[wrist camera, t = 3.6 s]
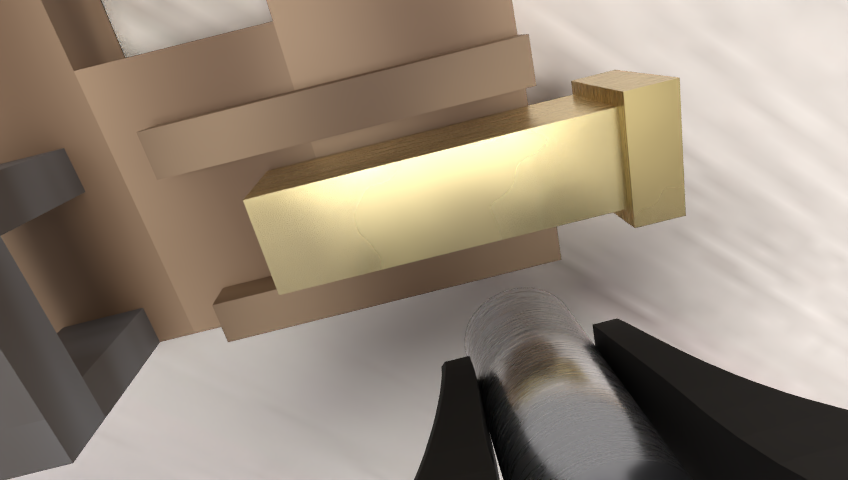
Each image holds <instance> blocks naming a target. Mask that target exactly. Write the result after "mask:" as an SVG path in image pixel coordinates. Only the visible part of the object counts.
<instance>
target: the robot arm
mask: <svg viewBox="0 0 848 480" xmlns="http://www.w3.org/2000/svg"><path fill="white" fill-rule="evenodd" d="M593 332H594V339H595V347H596V348H597V350H598V351H599V352H600V354H601V355H602V356H603V358H604V359H605V361H606V362H607V363H608V365H609V366H610V367H611V369H612V370H613V371H614V373H615V374H616V376H617V377H618V378H619V380H620V381H621V382H622V384H623V385H624V387H625V388H626V389H627V391H628V392H629V393H630V395H631V396H632V398H633V399H634V400H635V402H636V403H637V404H638V406H639V407H640V409H641V410H642V411H643V413H644V414H645V415H646V417H647V418H648V419H649V421H650V422H651V424H652V425H653V426H654V428H655V429H656V430H657V432H658V433H659V435H660V436H661V437H662V439H663V440H664V441H665V443H666V444H667V446H668V447H669V448H670V450H671V451H672V452H673V454H674V455H675V456H676V458H677V459H678V461H679V462H680V463H681V465H682V466H683V467H684V469H685V470H686V472H687V473H688V474H689V476H690V477H691V478H692V480H848V410H846V409H842V408H838V407H835V406H831V405H827V404H824V403H820V402H816V401H812V400H809V399H805V398H802V397H799V396H795V395H792V394H789V393H786V392H782V391H780V390H777V389H774V388H771V387H768V386H765V385H762V384H759V383H756V382H753V381H751V380H748V379H745V378H743V377H740V376H738V375H735V374H733V373H730V372H728V371H725V370H723V369H721V368H718V367H716V366H714V365H711V364H709V363H707V362H704V361H702V360H700V359H698V358H696V357H693V356H691V355H689V354H687V353H685V352H683V351H681V350H679V349H677V348H675V347H673V346H671V345H669V344H667V343H665V342H663V341H661V340H659V339H657V338H655V337H653V336H651V335H649V334H647V333H645V332H643V331H641V330H639V329H637V328H636V327H634V326H632V325H630V324H628V323H626V322H624V321H622V320H619V319H613V320H609V321H605V322H601V323H597V324H593ZM441 368H442V380H441V389H440V395H439V401H438V406H437V410H436V415H435V419H434V423H433V427H432V430H431V434H430V437H429V440H428V443H427V447H426V450H425V453H424V456H423V458H422V461H421V464H420V467H419V469H418V472H417V474H416V476H415V479H414V480H500V479H499V474H498V468H497V463H496V458H495V454H494V450H493V445H492V441H491V437H490V433H489V429H488V426H487V421H486V417H485V412H484V407H483V403H482V398H481V394H480V390H479V386H478V381H477V377H476V373H475V370H474V367H473V364H472V361H471V358H470V356H467V357H463V358H459V359H455V360H451V361H447V362H445V363H444V364H443V366H442V367H441Z"/></svg>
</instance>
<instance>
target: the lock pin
mask: <svg viewBox="0 0 848 480" xmlns="http://www.w3.org/2000/svg"><path fill="white" fill-rule="evenodd" d="M571 83H572V92H573V95H569V96H565V97H561V98H557V99H553V100H549V101H545V102H541V103H537V104H533V105H529V106H525V107H521V108H517V109H513V110H509V111H505V112H501V113H497V114H493V115H489V116H485V117H481V118H477V119H473V120H469V121H465V122H461V123H457V124H453V125H449V126H445V127H441V128H437V129H433V130H429V131H425V132H421V133H417V134H413V135H409V136H405V137H401V138H397V139H393V140H389V141H385V142H381V143H377V144H373V145H369V146H365V147H361V148H357V149H353V150H349V151H345V152H340V153H336V154H332V155H328V156H324V157H320V158H316V159H312V160H308V161H304V162H300V163H296V164H292V165H288V166H284V167H280V168H276V169H272V170H268V171H267V172H266V173H265V174H264V175H263V177H262V178H261V179H260V180H259V181H258V183H257V184H256V185H255V186H254V187H253V189H252V190H251V191H250V192H249V193H248V195H247V196H246V197H245V198H244V199H243V202H244V205H245V207H246V210H247V212H248V215H249V218H250V220H251V223H252V226H253V228H254V231H255V233H256V236H257V239H258V241H259V244H260V247H261V249H262V252H263V255H264V257H265V260H266V262H267V265H268V268H269V270H270V273H271V276H272V278H273V281H274V284H275V286H276V289H277V291H278V294H279V295H282V294H286V293H290V292H294V291H298V290H302V289H306V288H310V287H314V286H318V285H322V284H326V283H330V282H334V281H338V280H342V279H346V278H350V277H354V276H359V275H363V274H367V273H371V272H375V271H379V270H383V269H387V268H391V267H395V266H399V265H403V264H407V263H411V262H415V261H419V260H423V259H427V258H431V257H435V256H439V255H443V254H447V253H451V252H455V251H459V250H463V249H467V248H471V247H475V246H479V245H483V244H487V243H491V242H496V241H500V240H504V239H508V238H512V237H516V236H520V235H524V234H528V233H532V232H536V231H540V230H544V229H548V228H552V227H556V226H560V225H564V224H568V223H572V222H576V221H580V220H584V219H588V218H592V217H596V216H600V215H604V214H608V213H612V212H613V213H615V214H616V215H618V216H619V217H620V218H622V219H623V220H624V221H626V222H627V223H629V224H630V225H631V226H633V227H634V228H637V227H641V226H645V225H649V224H654V223H658V222H662V221H666V220H670V219H674V218H678V217H682V216H686V213H685V191H684V168H683V146H682V124H681V101H680V79H679V78H678V77H670V76H661V75H653V74H645V73H637V72H628V71H620V70H613V71H609V72H605V73H601V74H597V75H593V76H589V77H585V78H581V79H577V80H573V81H571Z"/></svg>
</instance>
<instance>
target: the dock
mask: <svg viewBox="0 0 848 480" xmlns="http://www.w3.org/2000/svg"><path fill="white" fill-rule="evenodd" d="M267 4H268V7H269V10H270V13H271V16H272V20H273V21H272V22H268V23H264V24H260V25H256V26H252V27H248V28H244V29H240V30H236V31H232V32H228V33H224V34H220V35H216V36H212V37H208V38H204V39H200V40H196V41H192V42H188V43H184V44H180V45H176V46H172V47H168V48H164V49H160V50H156V51H152V52H148V53H144V54H140V55H136V56H132V57H128V58H125V57H124V55H123V52H122V50H121V48H120V45H119V43H118V41H117V38H116V36H115V33H114V31H113V29H112V26H111V24H110V22H109V19H108V17H107V15H106V12H105V10H104V7H103V5H102V3H101V0H0V480H7V479H11V478H15V477H19V476H23V475H27V474H31V473H35V472H39V471H43V470H47V469H51V468H55V467H59V466H63V465H67V464H71V463H73V462H74V461H75V460H76V458H77V457H78V455H79V454H80V453H81V451H82V450H83V448H84V447H85V446H86V444H87V443H88V441H89V440H90V439H91V437H92V436H93V434H94V433H95V432H96V430H97V429H98V428H99V426H100V425H101V423H102V422H103V421H104V419H105V418H106V416H107V415H108V414H109V412H110V411H111V409H112V408H113V407H114V405H115V404H116V402H117V401H118V400H119V398H120V397H121V396H122V394H123V393H124V391H125V390H126V389H127V387H128V386H129V384H130V383H131V382H132V380H133V379H134V377H135V376H136V375H137V373H138V372H139V371H140V369H141V368H142V366H143V365H144V364H145V362H146V361H147V359H148V358H149V357H150V355H151V354H152V352H153V351H154V350H155V348H156V347H157V345H158V344H159V343H160V342H162V341H166V340H170V339H174V338H178V337H182V336H186V335H190V334H194V333H198V332H202V331H206V330H210V329H214V328H218V327H222V329H223V332H224V334H225V336H226V338H227V341H228V342H231V341H235V340H239V339H243V338H247V337H251V336H255V335H259V334H263V333H267V332H271V331H275V330H279V329H283V328H287V327H291V326H295V325H299V324H303V323H307V322H311V321H315V320H319V319H323V318H327V317H332V316H336V315H340V314H344V313H348V312H352V311H356V310H360V309H364V308H368V307H372V306H376V305H380V304H384V303H388V302H392V301H396V300H400V299H404V298H408V297H412V296H416V295H420V294H424V293H428V292H432V291H436V290H440V289H444V288H448V287H453V286H457V285H461V284H465V283H469V282H473V281H477V280H481V279H485V278H489V277H493V276H497V275H501V274H505V273H509V272H513V271H517V270H521V269H525V268H529V267H533V266H537V265H541V264H545V263H549V262H553V261H557V260H561V254H560V247H559V240H558V233H557V226H556V227H552V228H548V229H544V230H540V231H536V232H532V233H528V234H524V235H520V236H516V237H512V238H508V239H504V240H500V241H496V242H491V243H487V244H483V245H479V246H475V247H471V248H467V249H463V250H459V251H455V252H451V253H447V254H443V255H439V256H435V257H431V258H427V259H423V260H419V261H415V262H411V263H407V264H403V265H399V266H395V267H391V268H387V269H383V270H379V271H375V272H371V273H367V274H363V275H359V276H354V277H350V278H346V279H342V280H338V281H334V282H330V283H326V284H322V285H318V286H314V287H310V288H306V289H302V290H298V291H294V292H290V293H286V294H282V295H279V294H278V291H277V289H276V286H275V284H274V281H273V278H272V276H271V273H270V270H269V268H268V265H267V262H266V260H265V257H264V255H263V252H262V249H261V247H260V244H259V241H258V239H257V236H256V233H255V231H254V228H253V226H252V223H251V220H250V218H249V215H248V212H247V210H246V207H245V205H244V202H243V199H244V198H245V197H246V196H247V195H248V193H249V192H250V191H251V190H252V189H253V187H254V186H255V185H256V184H257V183H258V181H259V180H260V179H261V178H262V177H263V175H264V174H265V173H266V172H267V171H268V170H272V169H276V168H280V167H284V166H288V165H292V164H296V163H300V162H304V161H308V160H312V159H316V158H320V157H324V156H328V155H332V154H336V153H340V152H345V151H349V150H353V149H357V148H361V147H365V146H369V145H373V144H377V143H381V142H385V141H389V140H393V139H397V138H401V137H405V136H409V135H413V134H417V133H421V132H425V131H429V130H433V129H437V128H441V127H445V126H449V125H453V124H457V123H461V122H465V121H469V120H473V119H477V118H481V117H485V116H489V115H493V114H497V113H501V112H505V111H509V110H513V109H517V108H521V107H525V106H528V102H527V95H526V89H525V88H529V87H533V86H536V81H535V74H534V67H533V60H532V53H531V47H530V40H529V34H526V35H517V30H516V23H515V17H514V10H513V4H512V0H267Z"/></svg>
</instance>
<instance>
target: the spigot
mask: <svg viewBox="0 0 848 480" xmlns="http://www.w3.org/2000/svg"><path fill="white" fill-rule="evenodd" d="M465 351H466V354H467V356H470V358H471V361H472V364H473V367H474V370H475V373H476V377H477V381H478V386H479V390H480V394H481V398H482V403H483V407H484V412H485V417H486V421H487V426H488V429H489V432H490V436H491V439H492V442H493V446H494V449H495V453H496V456H497V459H498V463H499V466H500V470H501V473H502V476H503V480H692V478H691V477H690V476H689V474H688V473H687V472H686V470H685V469H684V467H683V466H682V465H681V463H680V462H679V461H678V459H677V458H676V456H675V455H674V454H673V452H672V451H671V450H670V448H669V447H668V446H667V444H666V443H665V441H664V440H663V439H662V437H661V436H660V435H659V433H658V432H657V430H656V429H655V428H654V426H653V425H652V424H651V422H650V421H649V419H648V418H647V417H646V415H645V414H644V413H643V411H642V410H641V409H640V407H639V406H638V404H637V403H636V402H635V400H634V399H633V398H632V396H631V395H630V393H629V392H628V391H627V389H626V388H625V387H624V385H623V384H622V382H621V381H620V380H619V378H618V377H617V376H616V374H615V373H614V371H613V370H612V369H611V367H610V366H609V365H608V363H607V362H606V361H605V359H604V358H603V356H602V355H601V354H600V352H599V351H598V350H597V348H596V347H595V345H594V344H593V343H592V341H591V340H590V339H589V337H588V336H587V334H586V333H585V332H584V330H583V329H582V328H581V326H580V325H579V324H578V322H577V321H576V319H575V318H574V317H573V315H572V314H571V313H570V311H569V310H568V308H567V307H566V306H565V305H564V303H563V302H562V301H561V300H559V299H558V298H557V297H555V296H554V295H552V294H550V293H548V292H546V291H543V290H540V289H534V288H517V289H511V290H508V291H505V292H502V293H500V294H497V295H495V296H494V297H492V298H490V299H489V300H488V301H486V302H485V303H484V304H483V305H482V306H480V307H479V308H478V310H477V311H476V312H475V313H474V315H473V316H472V318H471V320H470V322H469V324H468V326H467V329H466V333H465Z"/></svg>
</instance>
